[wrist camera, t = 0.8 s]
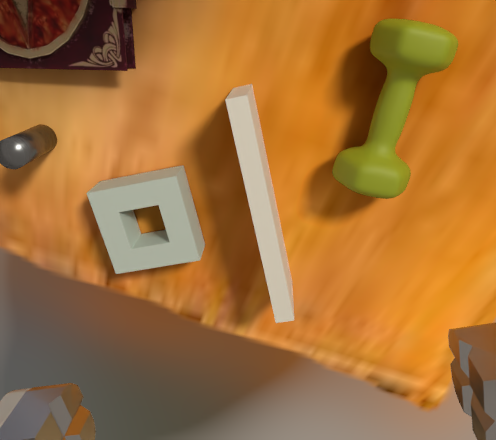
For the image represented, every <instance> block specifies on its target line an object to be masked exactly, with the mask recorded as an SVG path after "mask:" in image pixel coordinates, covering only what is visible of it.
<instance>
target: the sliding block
mask: <svg viewBox="0 0 496 440" xmlns="http://www.w3.org/2000/svg"><path fill="white" fill-rule="evenodd" d="M87 196H88V199H89V201H90V204H91V207H92V210H93V212H94V215H95V218H96V220H97V223H98V226H99V229H100V231H101V234H102V237H103V240H104V242H105V245H106V248H107V251H108V253H109V256H110V259H111V262H112V264H113V267H114V270H115V273H116V274H119V273H126V272H132V271H138V270H144V269H150V268H156V267H162V266H168V265H174V264H180V263H186V262H193V261H199V260H200V259H201V256H202V253H203V250H204V247H205V242H204V238H203V235H202V231H201V227H200V224H199V220H198V217H197V213H196V209H195V206H194V202H193V198H192V195H191V191H190V187H189V184H188V180H187V176H186V173H185V169H184V166H183V165H182V166H177V167H172V168H166V169H161V170H156V171H151V172H146V173H141V174H136V175H130V176H125V177H120V178H115V179H110V180H105V181H100V182H99V183H98V184H96V185H95V186H94V187H93V188H92V189H91V190H90V191H88V192H87ZM156 205H159V209H160V212H161V215H162V218H163V222H164V225H165V228H166V230H161V231H156V232H150V233H144V234H141V232H140V229H139V226H138V223H137V220H136V217H135V214H134V211H133V210H134V209H139V208H145V207H150V206H156Z"/></svg>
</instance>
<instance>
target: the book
mask: <svg viewBox="0 0 496 440" xmlns="http://www.w3.org/2000/svg"><path fill="white" fill-rule="evenodd" d="M131 8H136V0H0V68H36V69H78V70H121V71H127V68H136V67H135V54H134V40H133V27H132V14H131Z"/></svg>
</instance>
